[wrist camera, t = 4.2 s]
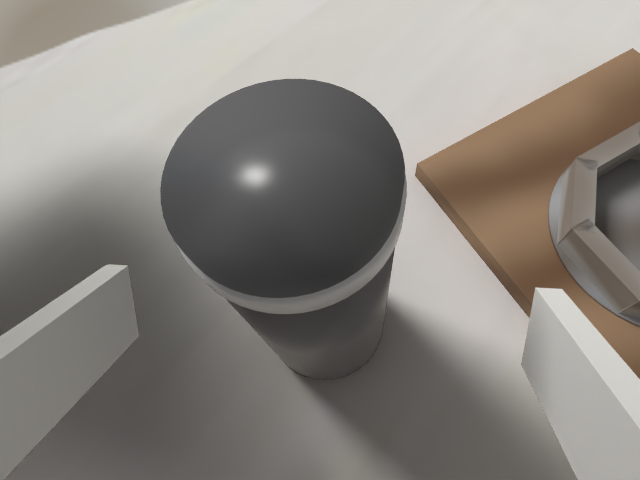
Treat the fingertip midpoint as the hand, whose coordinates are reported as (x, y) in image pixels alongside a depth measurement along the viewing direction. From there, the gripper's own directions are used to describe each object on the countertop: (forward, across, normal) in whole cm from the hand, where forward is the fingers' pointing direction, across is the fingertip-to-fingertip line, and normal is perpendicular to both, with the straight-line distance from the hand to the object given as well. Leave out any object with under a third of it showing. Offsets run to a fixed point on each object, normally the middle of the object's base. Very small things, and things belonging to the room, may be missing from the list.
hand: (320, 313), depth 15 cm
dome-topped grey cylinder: (+8, -1, -5) cm, 9 cm away
